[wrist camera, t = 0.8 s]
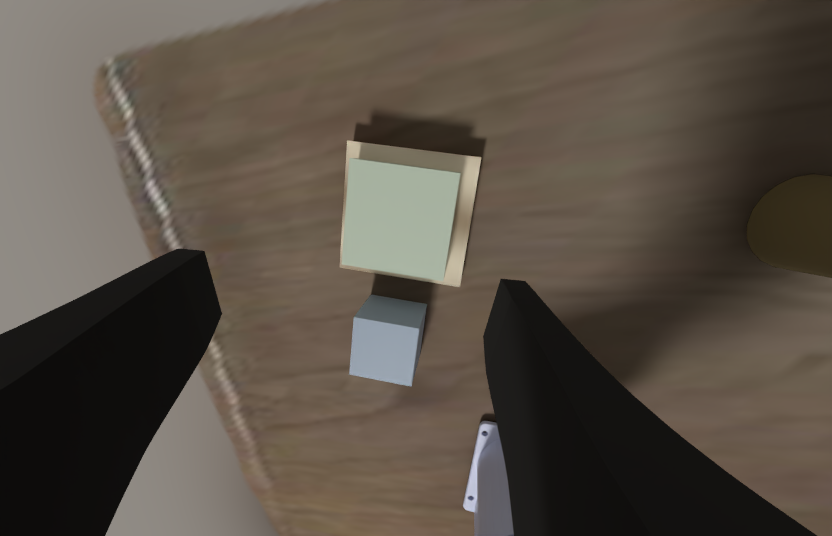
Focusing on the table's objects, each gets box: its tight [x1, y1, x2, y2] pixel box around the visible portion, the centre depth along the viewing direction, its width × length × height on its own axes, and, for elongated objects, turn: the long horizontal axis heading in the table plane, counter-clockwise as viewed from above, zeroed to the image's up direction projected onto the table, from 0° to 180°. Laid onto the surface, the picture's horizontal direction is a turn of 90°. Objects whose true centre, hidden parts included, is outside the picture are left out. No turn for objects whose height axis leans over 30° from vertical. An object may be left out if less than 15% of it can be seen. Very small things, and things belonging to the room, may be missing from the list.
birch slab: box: [340, 141, 481, 287], centre depth 27 cm, size 9×9×2 cm
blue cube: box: [350, 295, 427, 386], centre depth 28 cm, size 4×4×4 cm
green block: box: [342, 158, 461, 281], centre depth 25 cm, size 7×7×2 cm
